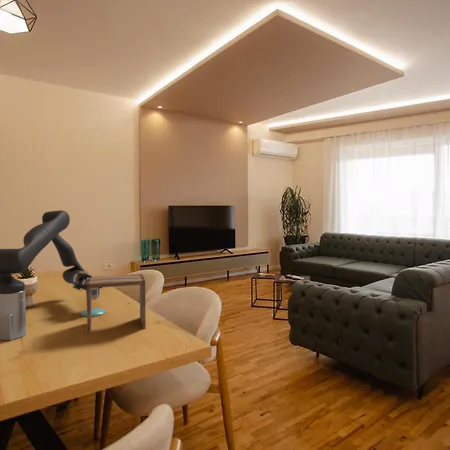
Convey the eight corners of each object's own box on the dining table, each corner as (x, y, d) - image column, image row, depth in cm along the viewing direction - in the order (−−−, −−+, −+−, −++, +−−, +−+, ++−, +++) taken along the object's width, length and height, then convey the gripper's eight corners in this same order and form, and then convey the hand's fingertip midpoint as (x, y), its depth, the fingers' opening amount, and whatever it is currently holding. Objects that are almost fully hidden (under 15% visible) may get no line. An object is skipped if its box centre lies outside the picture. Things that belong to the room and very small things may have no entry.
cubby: (145, 328, 143) (145, 280, 142) (87, 334, 136) (86, 284, 135) (142, 317, 156) (142, 274, 155) (89, 322, 149) (88, 277, 148)
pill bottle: (92, 296, 165) (91, 275, 165) (102, 297, 163) (101, 276, 163) (83, 300, 160) (83, 278, 159) (94, 301, 158) (93, 279, 157)
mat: (99, 317, 156) (99, 316, 156) (75, 316, 157) (75, 315, 157) (110, 309, 167) (110, 308, 167) (88, 308, 168) (87, 307, 168)
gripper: (67, 274, 168) (77, 281, 154) (98, 270, 177) (110, 276, 163) (67, 289, 168) (78, 298, 155) (98, 285, 177) (110, 292, 164)
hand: (94, 287), depth 159 cm, fingers closed on pill bottle, 5 cm apart
